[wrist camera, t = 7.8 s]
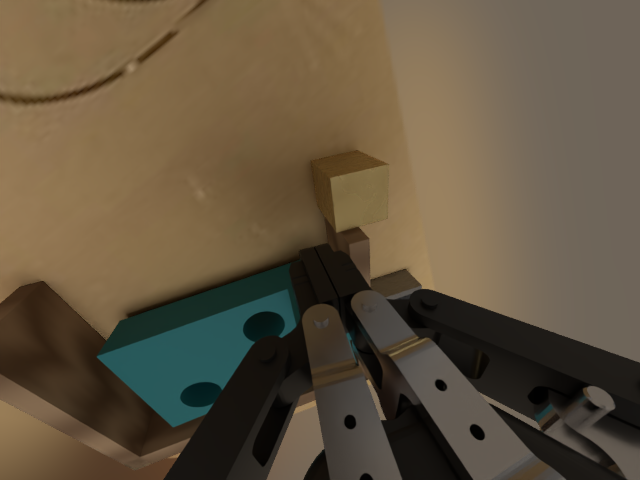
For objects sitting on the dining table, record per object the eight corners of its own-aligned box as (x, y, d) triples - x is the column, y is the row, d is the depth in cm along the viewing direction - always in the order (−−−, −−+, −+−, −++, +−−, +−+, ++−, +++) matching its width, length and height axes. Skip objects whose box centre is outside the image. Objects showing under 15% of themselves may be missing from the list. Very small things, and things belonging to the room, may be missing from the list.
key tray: (347, 287, 27) (358, 306, 24) (405, 269, 28) (421, 285, 26) (351, 328, 31) (360, 348, 29) (402, 310, 32) (415, 328, 30)
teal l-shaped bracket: (315, 246, 24) (355, 321, 15) (335, 320, 29) (374, 410, 20) (127, 309, 21) (37, 444, 12) (185, 377, 27) (152, 508, 17)
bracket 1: (19, 287, 17) (-70, 362, 12) (339, 206, 21) (369, 238, 16) (153, 403, 28) (134, 470, 23) (351, 334, 32) (372, 377, 27)
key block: (310, 160, 19) (330, 177, 15) (357, 150, 19) (388, 164, 15) (317, 206, 21) (336, 232, 17) (359, 195, 22) (387, 218, 17)
